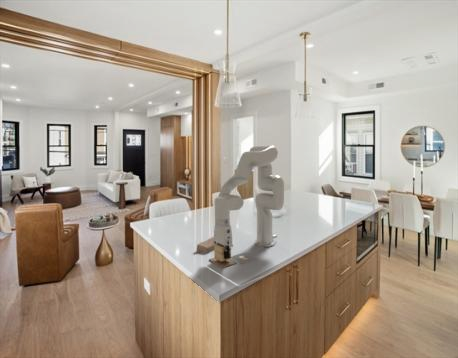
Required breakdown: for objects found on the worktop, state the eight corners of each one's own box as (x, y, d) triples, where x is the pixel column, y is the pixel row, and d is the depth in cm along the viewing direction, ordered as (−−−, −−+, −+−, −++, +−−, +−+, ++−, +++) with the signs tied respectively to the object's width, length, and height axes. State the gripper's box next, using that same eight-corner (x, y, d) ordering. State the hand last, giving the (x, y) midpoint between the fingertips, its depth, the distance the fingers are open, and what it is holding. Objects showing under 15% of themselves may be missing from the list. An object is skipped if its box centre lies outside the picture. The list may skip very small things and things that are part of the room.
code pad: (244, 253, 144) (244, 252, 144) (258, 259, 135) (258, 258, 135) (228, 258, 137) (228, 257, 137) (242, 265, 129) (242, 264, 129)
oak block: (223, 254, 135) (223, 241, 135) (231, 258, 131) (230, 245, 130) (214, 257, 132) (214, 244, 131) (221, 261, 127) (221, 247, 126)
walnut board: (222, 257, 139) (222, 255, 139) (237, 264, 130) (237, 262, 129) (208, 261, 133) (208, 259, 133) (222, 269, 124) (222, 267, 124)
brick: (207, 255, 143) (207, 246, 142) (195, 251, 148) (195, 243, 147) (224, 246, 156) (224, 238, 156) (213, 243, 161) (213, 236, 161)
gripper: (239, 223, 125) (239, 259, 127) (218, 217, 138) (218, 249, 140) (227, 226, 120) (227, 263, 122) (206, 219, 134) (207, 253, 136)
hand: (222, 255), depth 131 cm, fingers closed on oak block, 6 cm apart
